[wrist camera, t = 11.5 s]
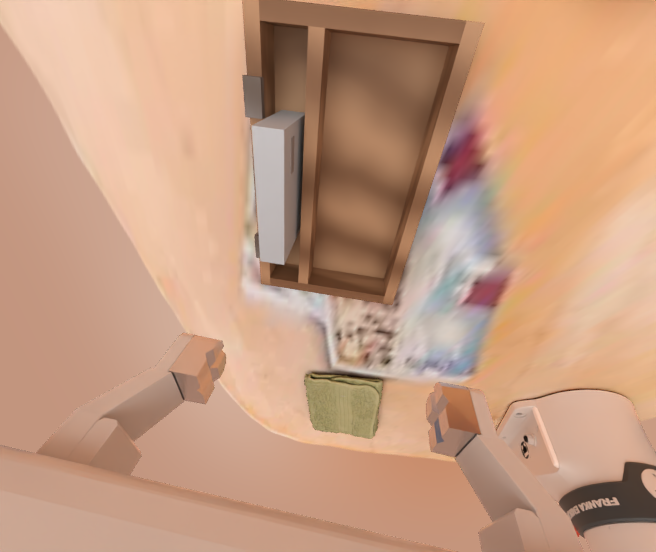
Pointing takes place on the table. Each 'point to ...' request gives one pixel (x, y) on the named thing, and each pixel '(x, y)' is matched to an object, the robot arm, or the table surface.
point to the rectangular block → (278, 182)
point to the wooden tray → (356, 131)
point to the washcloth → (344, 404)
